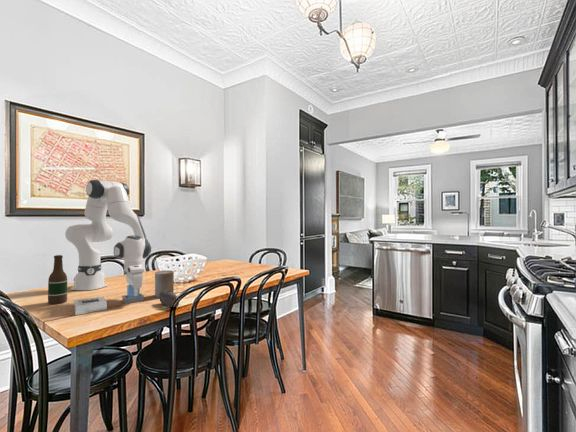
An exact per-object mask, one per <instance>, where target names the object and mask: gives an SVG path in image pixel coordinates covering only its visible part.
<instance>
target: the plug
mask: <svg viewBox="0 0 576 432" xmlns="http://www.w3.org/2000/svg"><path fill="white" fill-rule="evenodd" d="M140 289H141V288H139V289H138V295H137V296H134V295H133V292H134V289H133V287H132V286H131V285H129V284H128V285H126V295H127V298H131V297H139V296H140Z"/></svg>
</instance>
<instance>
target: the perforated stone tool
mask: <svg viewBox="0 0 576 432" xmlns="http://www.w3.org/2000/svg"><path fill="white" fill-rule="evenodd" d="M176 297H178V295H176V294H175V293H174V292H173V293H172V292H170V291H167V290H164V291H162V292H161V293H160V298H158V299H159V302H160V303H161V304H162V305H163V306H167V307H168V308H171V306H172V304H173V302H174V300H175V299H176ZM179 305H180V301H179V302H178V304H177V305H176V308H178V307H179ZM176 308H175V309H176Z"/></svg>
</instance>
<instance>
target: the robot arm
mask: <svg viewBox="0 0 576 432" xmlns="http://www.w3.org/2000/svg"><path fill="white" fill-rule="evenodd" d="M85 192H86V195H87V196H88V197H87V200H86V204H85V207H84V208H85V209H84V213H83V214H84V216H85V218H86V219H88V220H89V221H91V224H85V223H84V224H83V223H82V224H75V225H74V224H73V225H70V226H68V227H67V228H66V230H65V238H66V241H68V242H70V243H71V244H72V245H73V246H74V247H75V249H76V250H77V253H78V267H77V274H75V275H74V278H73V284H72V287H70V291H93V290H99V289H102V288H105V287H108V284H107V283H105V273H104V272H103V271H102V264H101V253H102V252H101V251H100V250H99V249H97V248H96V247H93V246H92V243H99V242H106V241H109V240H111V239H112V237H113V235H114V229H113V228H112V226H110V225H109V223H108V222H107V218H106V217H107V212H108V214H109V217H110V218H111V219H113V220H114V221H116V222H119V223H122V224H125V225H127V226H129V227H130V228H131V229H132V231H133V234H134V235H128V236H127V235H126V237H125V239H124V240H122V241H118V242H117V243H116V244H115V245H114V247H113V256H114V257H115V258H116V259H118V260H124V261H123V264H124V265H123V271H124V272H126V274H125V281H126V283H127V284H128V285H131V286H132V287H133V289H134V292H133V295H134V296H137V295H138V289H139V288H140V289H141V288H142V286H143V279H144V278H143V277H144V274H143V273H145V267H144V259H147V258H148V257H149V255H150V254H151V252H152V246H151V243H150V242H149V240H148V238H147V235H146V233H145V228H144V227H143V224H142V222H141V219H140V216H139V215H138V214H137V213H135V211H134V210H133V209H132V206H131V203H130V198H129V195H130V187H129V185H128V184H126V183H124V182H121V181H120V182H119V181H114V180H102V179H101V180H100V179H99V180H98V179H91V180H89V181H88V182H87V183H86V186H85Z"/></svg>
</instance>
